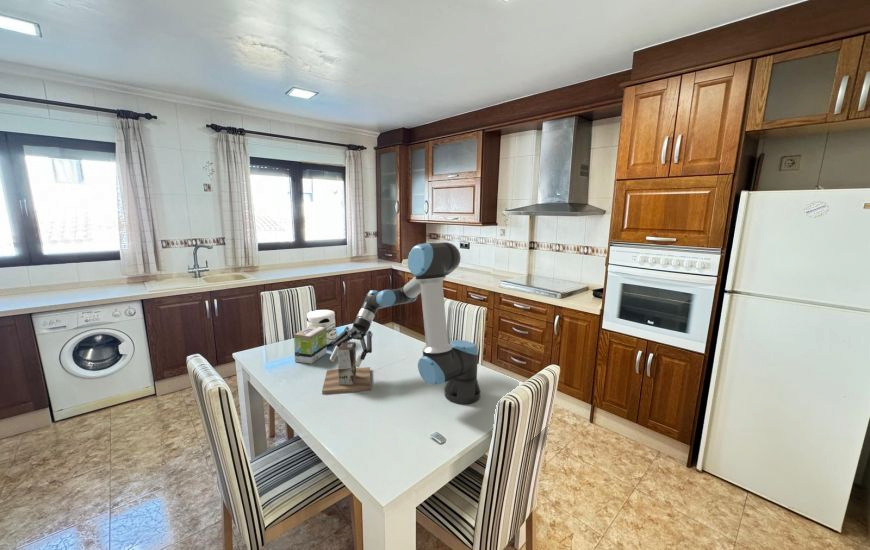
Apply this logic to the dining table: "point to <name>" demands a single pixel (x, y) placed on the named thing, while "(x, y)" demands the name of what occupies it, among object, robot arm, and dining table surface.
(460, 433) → the dining table surface
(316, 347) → the tea box
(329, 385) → the tan board
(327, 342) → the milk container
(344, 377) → the coffee box
